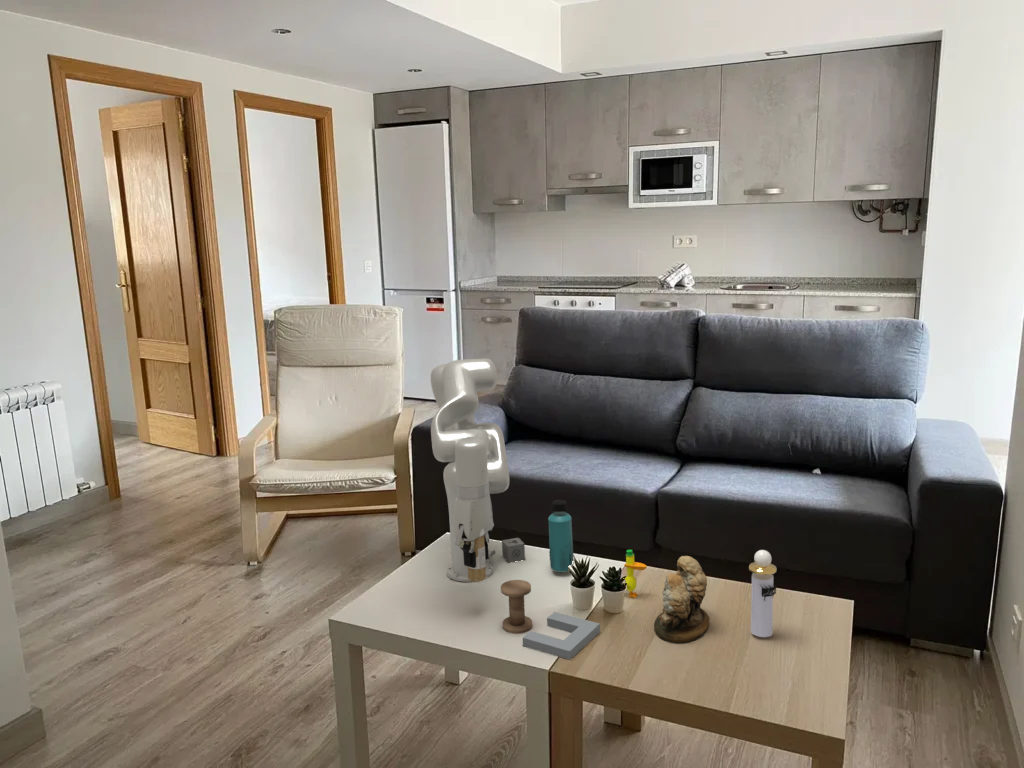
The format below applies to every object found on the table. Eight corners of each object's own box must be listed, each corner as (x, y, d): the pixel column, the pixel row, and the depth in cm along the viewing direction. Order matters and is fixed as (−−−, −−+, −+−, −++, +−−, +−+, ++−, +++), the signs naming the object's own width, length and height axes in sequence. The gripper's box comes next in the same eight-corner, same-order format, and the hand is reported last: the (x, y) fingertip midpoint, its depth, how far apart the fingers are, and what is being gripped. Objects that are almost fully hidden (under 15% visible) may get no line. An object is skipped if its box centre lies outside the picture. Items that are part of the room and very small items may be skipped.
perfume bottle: (742, 633, 177) (743, 549, 173) (761, 626, 180) (763, 543, 176) (761, 644, 172) (762, 557, 168) (780, 637, 175) (782, 552, 171)
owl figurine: (668, 604, 192) (668, 538, 189) (716, 613, 187) (717, 545, 184) (645, 638, 177) (645, 566, 174) (698, 649, 171) (698, 575, 168)
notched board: (554, 619, 187) (554, 611, 187) (600, 631, 180) (599, 623, 180) (522, 645, 176) (522, 637, 175) (569, 659, 169) (569, 651, 169)
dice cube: (525, 560, 222) (524, 543, 221) (508, 563, 221) (507, 546, 220) (519, 554, 227) (518, 537, 226) (502, 557, 225) (501, 540, 224)
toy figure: (648, 595, 197) (648, 550, 195) (644, 601, 194) (643, 555, 192) (623, 591, 200) (622, 546, 198) (618, 597, 197) (617, 551, 195)
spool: (513, 616, 189) (511, 577, 188) (538, 623, 186) (536, 583, 184) (496, 629, 184) (494, 588, 182) (522, 636, 180) (520, 595, 178)
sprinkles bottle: (464, 579, 190) (461, 527, 187) (476, 572, 193) (474, 520, 190) (478, 584, 187) (475, 531, 184) (490, 577, 190) (488, 525, 187)
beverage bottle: (572, 578, 209) (570, 506, 206) (547, 576, 211) (545, 505, 207) (575, 567, 216) (573, 497, 212) (551, 566, 217) (549, 497, 213)
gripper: (480, 477, 194) (484, 546, 198) (437, 498, 180) (442, 572, 184) (506, 481, 190) (509, 552, 194) (463, 504, 176) (468, 579, 180)
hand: (476, 561), depth 189 cm, fingers closed on sprinkles bottle, 4 cm apart
